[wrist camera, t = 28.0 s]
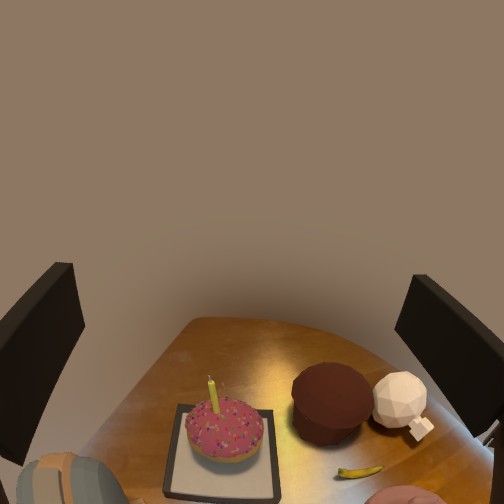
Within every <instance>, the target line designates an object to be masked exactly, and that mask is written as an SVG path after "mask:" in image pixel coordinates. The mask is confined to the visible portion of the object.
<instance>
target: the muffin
mask: <svg viewBox="0 0 504 504" xmlns="http://www.w3.org/2000/svg"><path fill="white" fill-rule="evenodd" d="M291 395H292V397H293V399H294V411H293V426H294V427H295V428H296V430H297V431H298V433H299V435H300V437H301V439H304V440H306V441H309V442H311V443H313V444H315V445H317V446H324V445H335V444H338V443H339V442H340V441H341V440H342V439H343V438H344V437H346V436H347V435H348V434H350V433H351V432H352V431H353V429H354V428H355V427H356V426H357V425H359V424H360V423H362V422H364V421H366V420H367V419H369V417H370V415H371V413H372V411H373V410H374V408H375V401H374V394H373V391H372V388H371V386H370V384H369V383H368V382H367V380H366V379H365V378H364V377H363V375H362V374H360V373H359V372H357V371H356V370H354V369H353V368H351V367H349V366H346V365H343V364H340V363H329V362H323V363H320V364H317V365H314V366H311V367H308V368H307V369H306V370H304V371H302V372H301V373H300V375H299V376H298V377H297V378H296V379H295V380H294V381H293V387H292V393H291Z"/></svg>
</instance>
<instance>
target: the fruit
mask: <svg viewBox="0 0 504 504" xmlns="http://www.w3.org/2000/svg"><path fill="white" fill-rule="evenodd" d="M382 468H384V466H378V467H373V468H368V469H361V470H346V469H340V468H339V469H338V474H339V475H340V476H342V477H346V478H359V477H365V476H368V475H371V474H374V473H376V472H378V471H379V470H381V469H382Z"/></svg>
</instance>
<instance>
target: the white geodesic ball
mask: <svg viewBox="0 0 504 504" xmlns="http://www.w3.org/2000/svg"><path fill="white" fill-rule="evenodd" d="M373 394H374V401H375V408H374V410H373V411H372V415H373V418H374V420H375V421H377V422H378V423H380V424H382V425H383V426H385V427H387V428H399V427H404V426H406V425H409V426H410V427H411V430H410V431H409V432H410V433H411V434H412V435H413V436H414V438H415V439H416V440H417V441H419V440H420V439H422V438H423V437H424V436H425V435H426V434H427V433H428V432H429V431H430V430H432V429H433V428H434V426H433V425H432V424H431V423H430V422H429V420H428V419H427V418H426V417H425V418H423V419H422V418H421V417H420V414H421V413H422V411H423V409H424V408H425V406H426V388H425V386H424V385H423V383H422V381H421V380H420V379H418V378H417V377H415V376H414V375H412V374H411V373H409V372H408V371H405V372H397V373H390V374H388V375H387V376H386V377H384V378H383V379H382V380H380V381H379V382H378V383H377V385H376V386H375V388H374V390H373Z"/></svg>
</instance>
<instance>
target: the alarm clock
mask: <svg viewBox="0 0 504 504" xmlns="http://www.w3.org/2000/svg"><path fill="white" fill-rule="evenodd" d="M16 498H17V504H145V502H144V499H143V498H141V499H135V500H129V501H128V500H127V498H126V496H125V494H124V492H123V490H122V488H121V486H120V485H119V483H118V481H117V479H116V478H115V476H114V475H113V473H112V472H111V471H110V470H109V469H108V468H107V467H106V466H105V464H103V463H101V462H99V461H97V460H94V459H92V458H89V457H79V456H77V455H76V454H74V453H71V452H68V453H53V454H46V455H44V456H42V457H41V458H40V460H36V461H33V462H31V463H29V464H28V465H27V466H26V467H25V468H24V469H23V470H22V472H21V473H20V475H19V477H18V481H17V487H16Z"/></svg>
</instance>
